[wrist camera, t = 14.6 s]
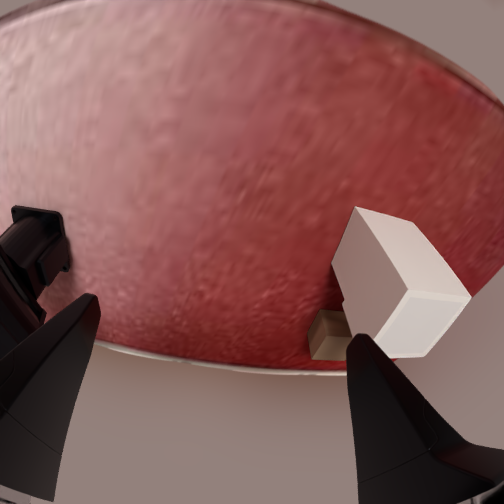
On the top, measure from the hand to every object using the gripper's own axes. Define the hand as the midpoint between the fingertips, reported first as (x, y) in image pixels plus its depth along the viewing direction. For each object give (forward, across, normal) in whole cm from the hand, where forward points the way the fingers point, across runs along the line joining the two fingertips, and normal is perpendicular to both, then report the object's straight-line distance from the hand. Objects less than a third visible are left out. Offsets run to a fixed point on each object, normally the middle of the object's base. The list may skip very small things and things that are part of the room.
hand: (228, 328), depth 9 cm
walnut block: (+13, -12, +13) cm, 22 cm away
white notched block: (+13, -12, +3) cm, 18 cm away
